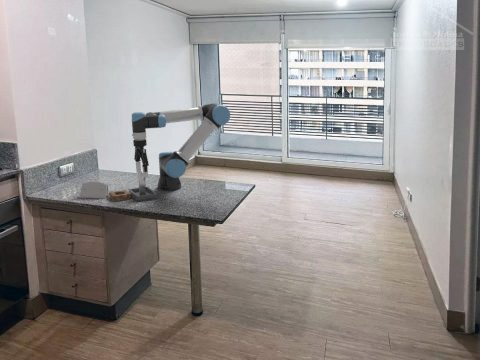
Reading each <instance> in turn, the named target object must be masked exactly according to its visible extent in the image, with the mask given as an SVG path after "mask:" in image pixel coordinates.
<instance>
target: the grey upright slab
mask: <svg viewBox="0 0 480 360" xmlns="http://www.w3.org/2000/svg"><path fill="white" fill-rule="evenodd" d="M108 196H109V185H108V184H107V183H105V182H101V181H95V180H94V181H87V182H84V183H82V184H81V186H80V193H79V198H81V199H82V198H86V199H87V198H91V199H92V198H93V199H106V198H107V197H108Z"/></svg>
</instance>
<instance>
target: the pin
mask: <svg viewBox="0 0 480 360" xmlns="http://www.w3.org/2000/svg"><path fill="white" fill-rule="evenodd" d="M137 176H138V177H137V178H138V188H139V195H140V196H142V195H146V187H147V184H146V177H143V170H141V172H138V173H137Z"/></svg>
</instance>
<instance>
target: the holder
mask: <svg viewBox="0 0 480 360" xmlns="http://www.w3.org/2000/svg"><path fill="white" fill-rule="evenodd" d="M108 193H109V198H110V199H111V201H112V202H119V201H126V200H130V199H132V198H131V197H132V196H131V195H130V193H129V191H127V190H126V189H124V190H123V189H122V190H116V191H108Z"/></svg>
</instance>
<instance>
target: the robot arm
mask: <svg viewBox="0 0 480 360" xmlns="http://www.w3.org/2000/svg"><path fill="white" fill-rule="evenodd" d="M230 111H231V110H230V109H229V108H228V107H227V106H226V105H225V104H220V103H209V104H203V105H198V106H197V107H194V108H193V107H192V108H191V107H190V108H181V109H175V110H174V109H172V110H166V111H164V110H163V111H157V112H156V111H155V112H151V111H149V112H147V113H146V114H145V112H142V111H141V112H140V111H139V112H137V111H136V112H133V113H131V128H132V134H131V136H132V139H133V146H134V158H133V159H134V161H135V170H136V173H137V174H138V172H141V171H143V177H145V178H149V168H148V167H149V166H150V165H149V159H148V155H147V149H146V148H145V147H146V146H148V144H147V131H146V129H161V128H166V126H167V124H171V123H172V124H173V123H180V122H188V121H189V122H190V121H197V120H199V121H201V124H200V125H199V126H198V127H197V128H196V129H195V131H194V132H192V134H191V135H190V137H188V139H187V140H186V141H185V142H184V143H183V144H182V146H181V147H180V148H179V150H174V151H166V152H164V151H163V152H160V153H159V154H158V163H159V164H158V166H159V167H158V168H159V178H158V182H157V185H156V186H157V189H158V190H161V191H174V190H175V191H176V190H179V189H181V188H182V183H181V179H180V177H182V176H184V174H185V173H186V170H187V167H188V166H189V165H190V160H191V158H192V157H193V156H194V155H195V153H196V152H197V151H198V150H199V149H200V148H201V146H202V145H204V143H205V142H206V141H207V139H208V138H210V136H211V134H213V133H214V132H215V131H218V130H219V129H221V127H222V126H224V125H226V124H227V123H228V122H229V121H230V120H231V112H230ZM141 164H142V165H141Z"/></svg>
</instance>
